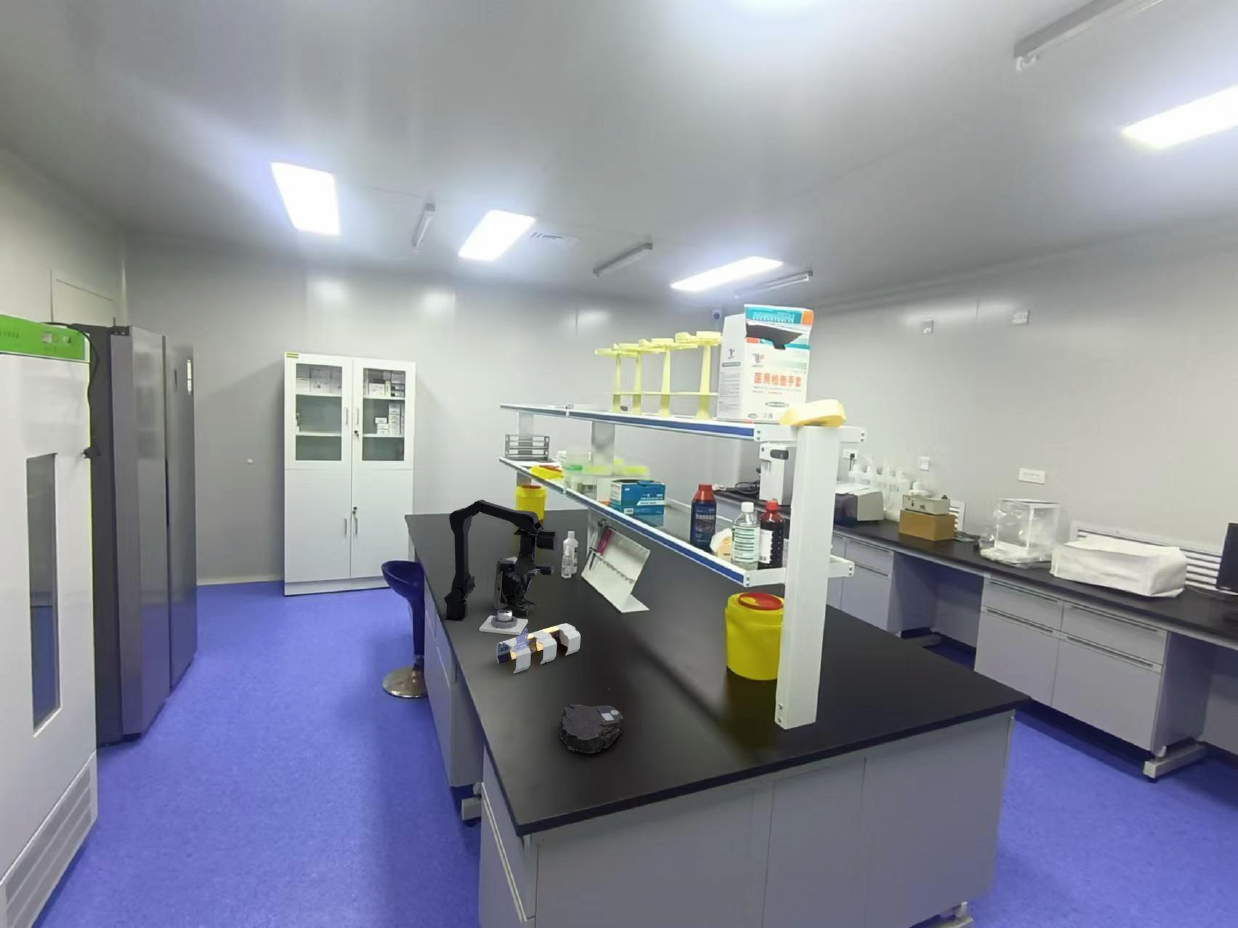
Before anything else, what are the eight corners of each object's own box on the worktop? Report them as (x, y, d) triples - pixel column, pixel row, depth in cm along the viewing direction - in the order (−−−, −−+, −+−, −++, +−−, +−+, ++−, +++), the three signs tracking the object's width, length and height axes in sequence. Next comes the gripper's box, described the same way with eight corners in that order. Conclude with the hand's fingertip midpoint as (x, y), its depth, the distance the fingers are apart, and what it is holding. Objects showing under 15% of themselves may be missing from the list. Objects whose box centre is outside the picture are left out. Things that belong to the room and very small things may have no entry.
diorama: (515, 676, 162) (518, 632, 161) (495, 663, 169) (498, 621, 168) (579, 653, 180) (582, 614, 179) (558, 642, 187) (561, 605, 186)
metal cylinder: (494, 625, 194) (495, 611, 194) (499, 620, 199) (500, 606, 199) (508, 627, 194) (509, 613, 193) (513, 621, 199) (513, 608, 198)
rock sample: (602, 765, 124) (604, 744, 124) (542, 744, 130) (543, 724, 130) (631, 726, 140) (633, 708, 140) (576, 709, 146) (577, 691, 146)
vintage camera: (519, 620, 204) (524, 568, 202) (491, 608, 213) (496, 557, 211) (538, 614, 212) (543, 564, 210) (511, 602, 221) (515, 554, 219)
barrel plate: (479, 631, 191) (479, 624, 191) (489, 618, 203) (490, 611, 203) (519, 635, 190) (519, 628, 190) (527, 622, 202) (528, 615, 202)
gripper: (494, 551, 188) (492, 596, 189) (548, 555, 187) (546, 600, 188) (504, 543, 199) (502, 586, 201) (555, 547, 198) (553, 590, 199)
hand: (525, 591), depth 197 cm, fingers closed
